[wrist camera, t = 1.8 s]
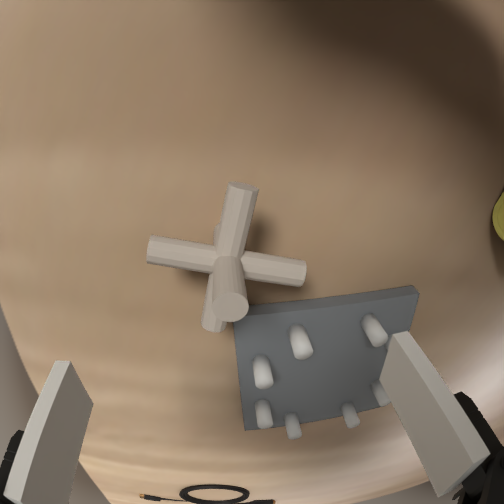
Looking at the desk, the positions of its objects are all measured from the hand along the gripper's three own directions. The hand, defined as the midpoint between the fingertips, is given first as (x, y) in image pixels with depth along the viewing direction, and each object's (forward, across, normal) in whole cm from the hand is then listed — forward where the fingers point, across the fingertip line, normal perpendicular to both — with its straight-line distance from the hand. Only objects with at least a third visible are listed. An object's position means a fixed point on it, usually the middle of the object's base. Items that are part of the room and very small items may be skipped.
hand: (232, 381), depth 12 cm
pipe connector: (+15, 0, 0) cm, 15 cm away
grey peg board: (+15, +9, -16) cm, 23 cm away
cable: (+16, -8, -53) cm, 56 cm away
